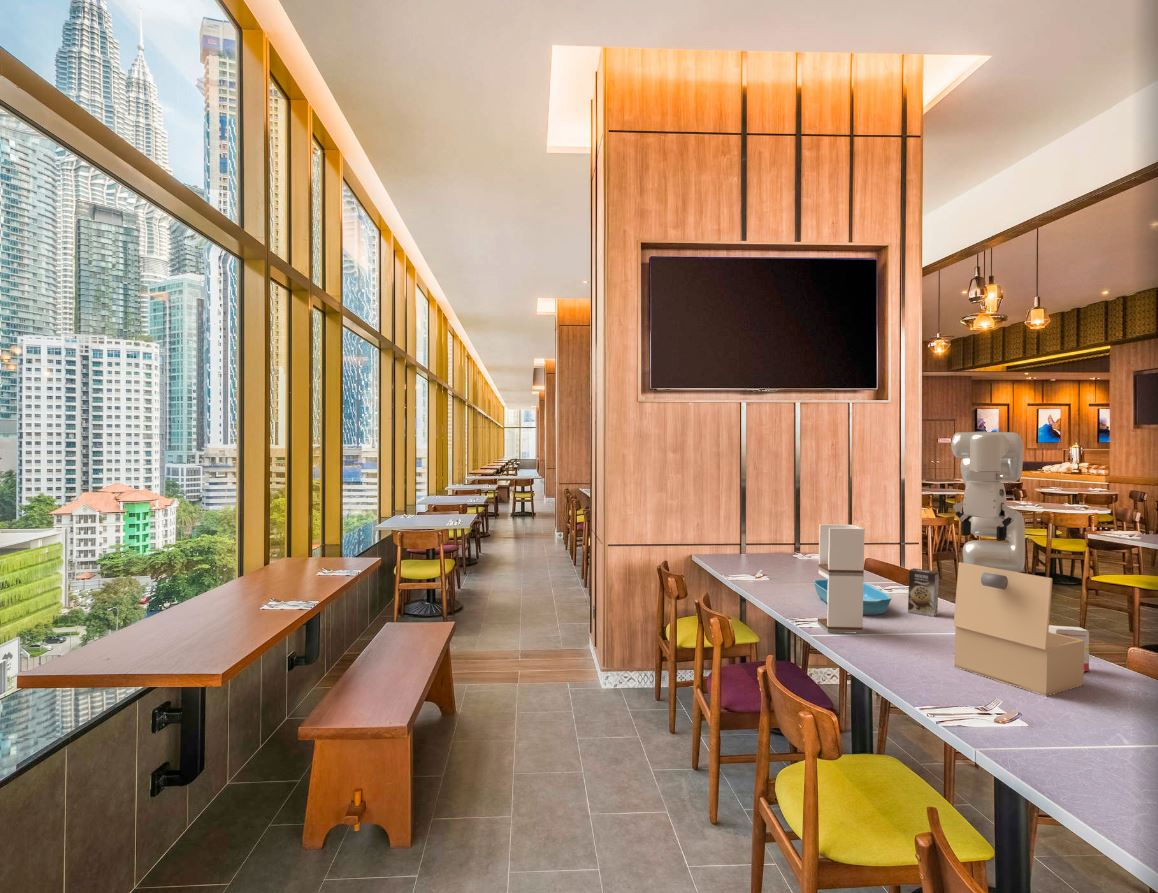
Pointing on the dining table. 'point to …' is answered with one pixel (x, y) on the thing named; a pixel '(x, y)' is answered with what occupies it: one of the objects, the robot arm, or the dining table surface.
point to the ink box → (1078, 634)
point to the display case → (842, 576)
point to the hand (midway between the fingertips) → (983, 537)
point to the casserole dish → (872, 597)
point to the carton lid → (1003, 604)
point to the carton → (1022, 661)
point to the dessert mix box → (923, 592)
